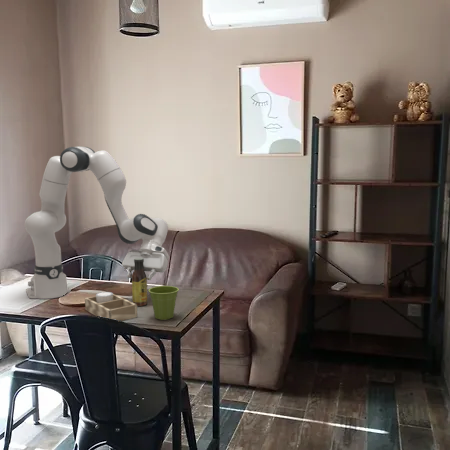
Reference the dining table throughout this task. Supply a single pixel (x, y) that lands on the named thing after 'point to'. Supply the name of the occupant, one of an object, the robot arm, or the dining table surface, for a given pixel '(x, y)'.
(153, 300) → the plant pot
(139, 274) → the sauce bottle
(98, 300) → the white cylinder
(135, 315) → the caddy
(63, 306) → the dining table surface
